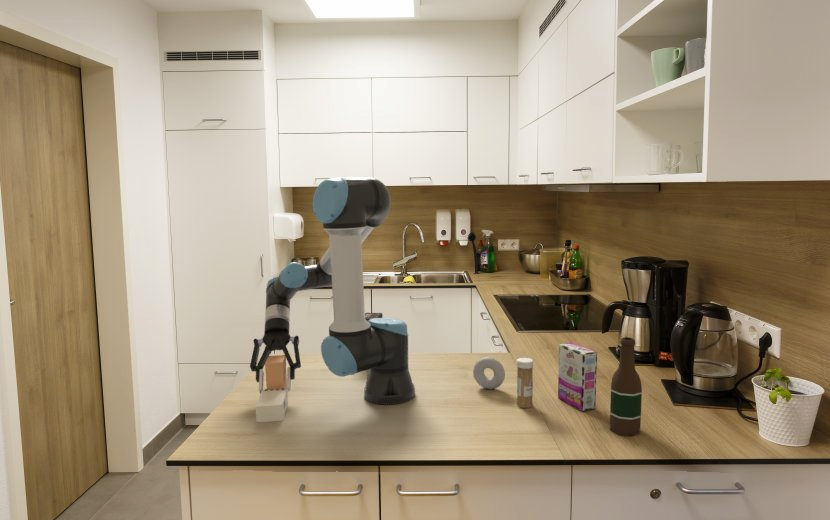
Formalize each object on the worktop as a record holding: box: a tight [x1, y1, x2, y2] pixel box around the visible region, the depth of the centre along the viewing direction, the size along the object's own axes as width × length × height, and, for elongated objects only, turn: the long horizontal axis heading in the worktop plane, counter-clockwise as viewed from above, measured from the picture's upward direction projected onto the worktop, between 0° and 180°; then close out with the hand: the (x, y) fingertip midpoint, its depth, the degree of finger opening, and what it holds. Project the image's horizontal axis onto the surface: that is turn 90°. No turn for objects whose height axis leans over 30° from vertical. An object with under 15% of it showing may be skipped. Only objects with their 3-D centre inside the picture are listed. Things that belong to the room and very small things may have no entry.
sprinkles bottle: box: [516, 357, 534, 409], centre depth 165 cm, size 5×5×13 cm
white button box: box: [255, 388, 289, 423], centre depth 164 cm, size 7×12×5 cm, turn 6°
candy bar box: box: [557, 342, 598, 412], centre depth 166 cm, size 11×5×16 cm, turn 23°
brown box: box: [264, 354, 288, 394], centre depth 174 cm, size 5×7×12 cm
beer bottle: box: [609, 336, 643, 437], centre depth 147 cm, size 8×8×24 cm
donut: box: [472, 356, 506, 390], centre depth 179 cm, size 10×4×10 cm, turn 65°
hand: (274, 390), depth 171 cm, fingers open, 7 cm apart
